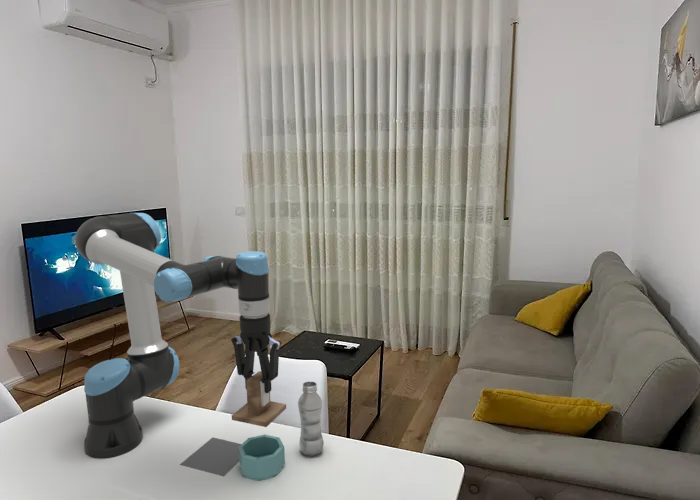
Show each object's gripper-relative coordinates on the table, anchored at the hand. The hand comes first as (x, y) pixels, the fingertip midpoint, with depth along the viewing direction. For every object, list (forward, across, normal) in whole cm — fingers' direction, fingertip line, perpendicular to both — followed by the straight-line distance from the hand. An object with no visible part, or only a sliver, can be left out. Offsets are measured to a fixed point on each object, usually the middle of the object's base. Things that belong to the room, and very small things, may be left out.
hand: (259, 402), depth 127 cm
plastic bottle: (+19, +9, +11) cm, 24 cm away
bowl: (+18, 0, 0) cm, 18 cm away
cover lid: (+3, 0, 0) cm, 3 cm away
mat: (+18, -14, 0) cm, 23 cm away
